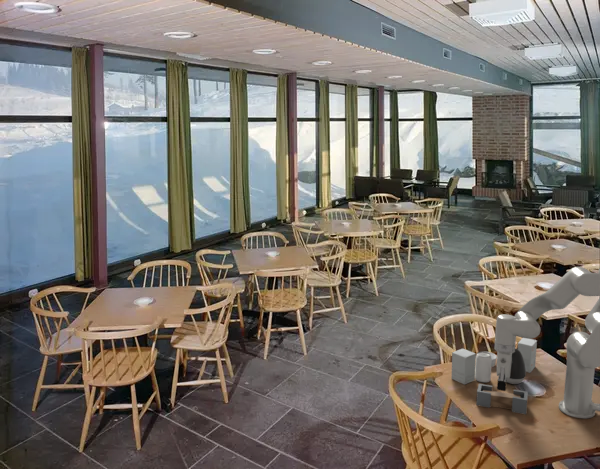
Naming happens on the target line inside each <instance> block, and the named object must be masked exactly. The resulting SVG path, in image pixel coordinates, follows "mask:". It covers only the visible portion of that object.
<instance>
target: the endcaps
mask: <svg viewBox="0 0 600 469" xmlns="http://www.w3.org/2000/svg"><path fill="white" fill-rule="evenodd" d="M483 390H487V391H493V385H489V384H484V383H478V385H477V390H476V404H475V405H476V406H478V407H479V406H480V407H484V408H491V406H490V404H491V393H490V392H484V391H483ZM512 394H518V395H520V397H521V398H519V397H513V402H512V409H511V412H512V413H517V414H523V415H527V412H528V411H527V410H528V408H527V407H528V391H524V390H520V389H519V390H518V389H513V391H512Z"/></svg>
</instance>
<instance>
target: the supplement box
mask: <svg viewBox="0 0 600 469" xmlns="http://www.w3.org/2000/svg"><path fill="white" fill-rule="evenodd" d="M476 356H477V353H475V352H473V351H471V350H467V349H465V348H460V349H458V350H455V351H453V352H451V377H450V378H451V380H453V381H456V382H458V383H460V384H463V385H467V384H469V383H472V382H474V381H475V380H476V379H475V367H476Z"/></svg>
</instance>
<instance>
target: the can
mask: <svg viewBox="0 0 600 469" xmlns="http://www.w3.org/2000/svg"><path fill="white" fill-rule="evenodd" d="M488 352H489V351H478V352H477V353H476V359H475V380H476V381H477V382H479V383H481V384H484V383H485V384H487V383H489V382H490V381H491V380H492V379H491V378H492V377H491V376H492V367H491V362H492V358H491V354H490V353H488Z"/></svg>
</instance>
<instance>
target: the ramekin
mask: <svg viewBox="0 0 600 469" xmlns="http://www.w3.org/2000/svg"><path fill="white" fill-rule="evenodd" d="M487 352H488V353H490V354H491V358H492V362H491V368H493V367H495V366H496V364H497V354H495V353H493V352H491V351H487Z"/></svg>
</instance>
